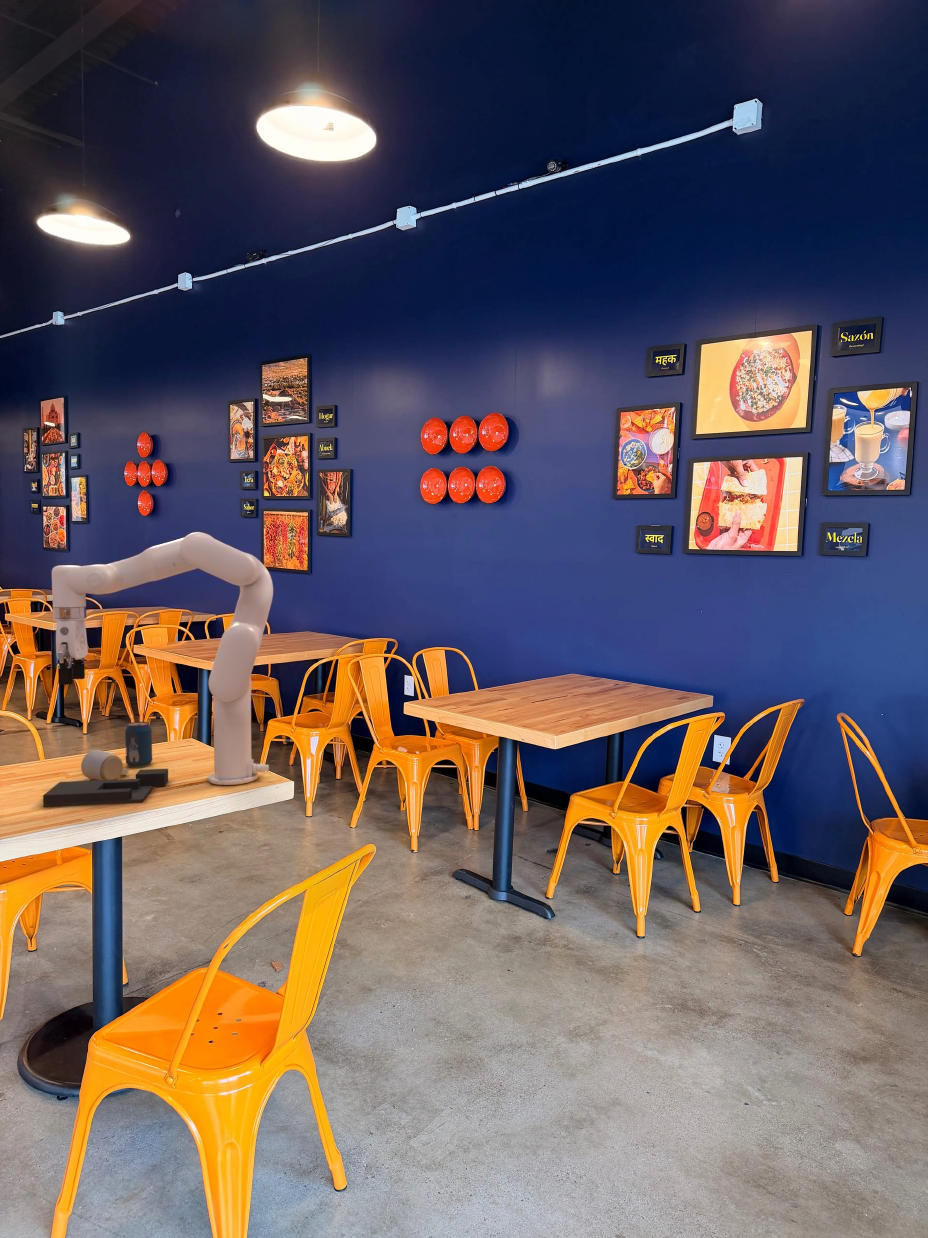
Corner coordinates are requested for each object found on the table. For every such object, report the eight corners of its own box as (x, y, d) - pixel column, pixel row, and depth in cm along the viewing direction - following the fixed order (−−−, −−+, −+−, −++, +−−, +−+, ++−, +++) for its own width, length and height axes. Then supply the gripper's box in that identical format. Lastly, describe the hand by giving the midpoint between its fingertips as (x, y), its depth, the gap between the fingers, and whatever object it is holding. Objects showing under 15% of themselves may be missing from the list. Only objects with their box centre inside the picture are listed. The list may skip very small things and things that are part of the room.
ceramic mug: (101, 785, 205) (101, 755, 204) (80, 781, 208) (80, 752, 208) (135, 776, 214) (135, 748, 214) (115, 773, 218) (115, 745, 217)
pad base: (153, 788, 202) (152, 778, 202) (142, 802, 190) (142, 791, 190) (60, 793, 198) (59, 781, 198) (43, 807, 186) (42, 795, 186)
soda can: (150, 761, 231) (149, 720, 230) (154, 766, 225) (153, 724, 224) (124, 764, 227) (123, 722, 226) (127, 769, 221) (126, 726, 220)
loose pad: (168, 781, 209) (168, 768, 208) (164, 786, 204) (164, 773, 203) (140, 783, 207) (139, 769, 207) (135, 788, 202) (135, 774, 202)
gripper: (75, 616, 193) (77, 686, 194) (95, 612, 210) (97, 676, 211) (41, 616, 192) (44, 687, 193) (65, 612, 209) (67, 677, 210)
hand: (72, 681), depth 202 cm, fingers open, 9 cm apart
